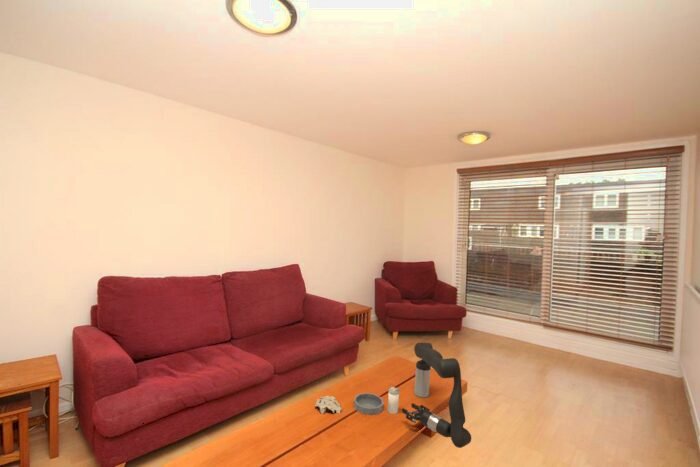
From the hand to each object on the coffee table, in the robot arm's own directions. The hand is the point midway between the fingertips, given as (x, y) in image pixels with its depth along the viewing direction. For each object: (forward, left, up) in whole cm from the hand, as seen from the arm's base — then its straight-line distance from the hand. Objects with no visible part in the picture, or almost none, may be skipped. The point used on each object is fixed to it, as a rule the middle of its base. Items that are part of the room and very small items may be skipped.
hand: (407, 407), depth 183 cm
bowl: (+4, -23, -7) cm, 24 cm away
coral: (+22, -39, -7) cm, 46 cm away
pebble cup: (-2, -10, -7) cm, 12 cm away
